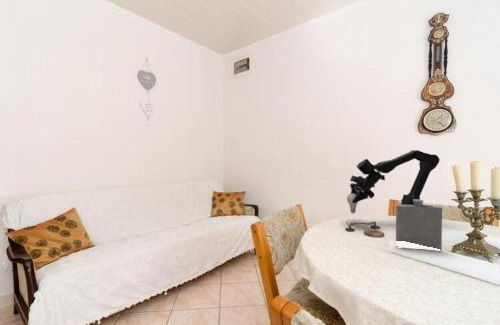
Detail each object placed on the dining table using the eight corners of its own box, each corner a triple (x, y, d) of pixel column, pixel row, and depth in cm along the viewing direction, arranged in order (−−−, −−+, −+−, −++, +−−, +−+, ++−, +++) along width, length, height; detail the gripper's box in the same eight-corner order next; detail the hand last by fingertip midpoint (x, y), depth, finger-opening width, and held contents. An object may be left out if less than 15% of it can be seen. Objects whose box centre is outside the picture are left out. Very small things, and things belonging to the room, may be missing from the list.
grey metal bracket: (374, 226, 131) (374, 220, 131) (380, 228, 128) (380, 222, 127) (345, 229, 127) (345, 223, 127) (349, 232, 123) (349, 225, 123)
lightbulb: (349, 211, 139) (348, 191, 138) (360, 213, 135) (360, 193, 135) (345, 213, 134) (345, 193, 134) (357, 215, 130) (357, 194, 130)
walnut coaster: (386, 233, 120) (386, 232, 120) (381, 238, 113) (382, 237, 113) (366, 230, 126) (366, 228, 126) (361, 234, 119) (361, 233, 119)
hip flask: (396, 247, 103) (397, 199, 102) (394, 244, 106) (394, 198, 106) (442, 252, 98) (443, 201, 97) (438, 248, 101) (439, 199, 101)
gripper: (352, 169, 143) (333, 188, 144) (368, 171, 124) (346, 194, 125) (366, 182, 143) (347, 201, 144) (383, 186, 125) (362, 209, 125)
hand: (350, 201), depth 134 cm, fingers closed on lightbulb, 6 cm apart
